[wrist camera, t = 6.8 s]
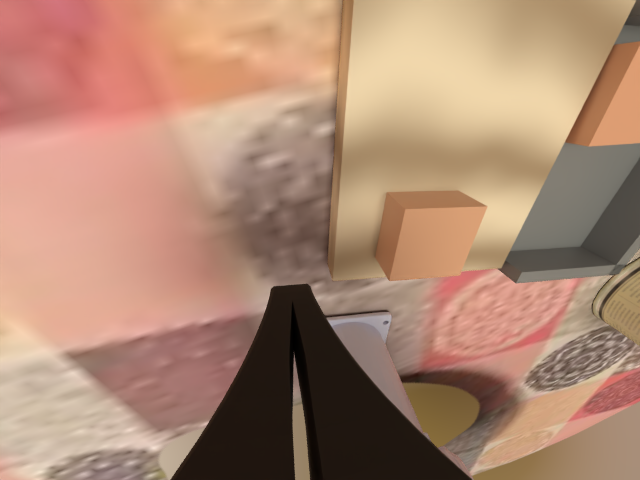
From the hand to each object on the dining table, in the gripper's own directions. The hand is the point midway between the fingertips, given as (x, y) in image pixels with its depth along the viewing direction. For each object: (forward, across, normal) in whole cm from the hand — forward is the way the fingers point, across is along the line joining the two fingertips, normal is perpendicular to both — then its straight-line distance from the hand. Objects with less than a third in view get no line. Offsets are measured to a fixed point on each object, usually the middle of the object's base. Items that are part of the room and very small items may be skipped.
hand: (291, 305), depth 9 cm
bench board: (+8, -10, -4) cm, 13 cm away
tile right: (+7, -18, -7) cm, 21 cm away
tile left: (+6, -8, 0) cm, 10 cm away
